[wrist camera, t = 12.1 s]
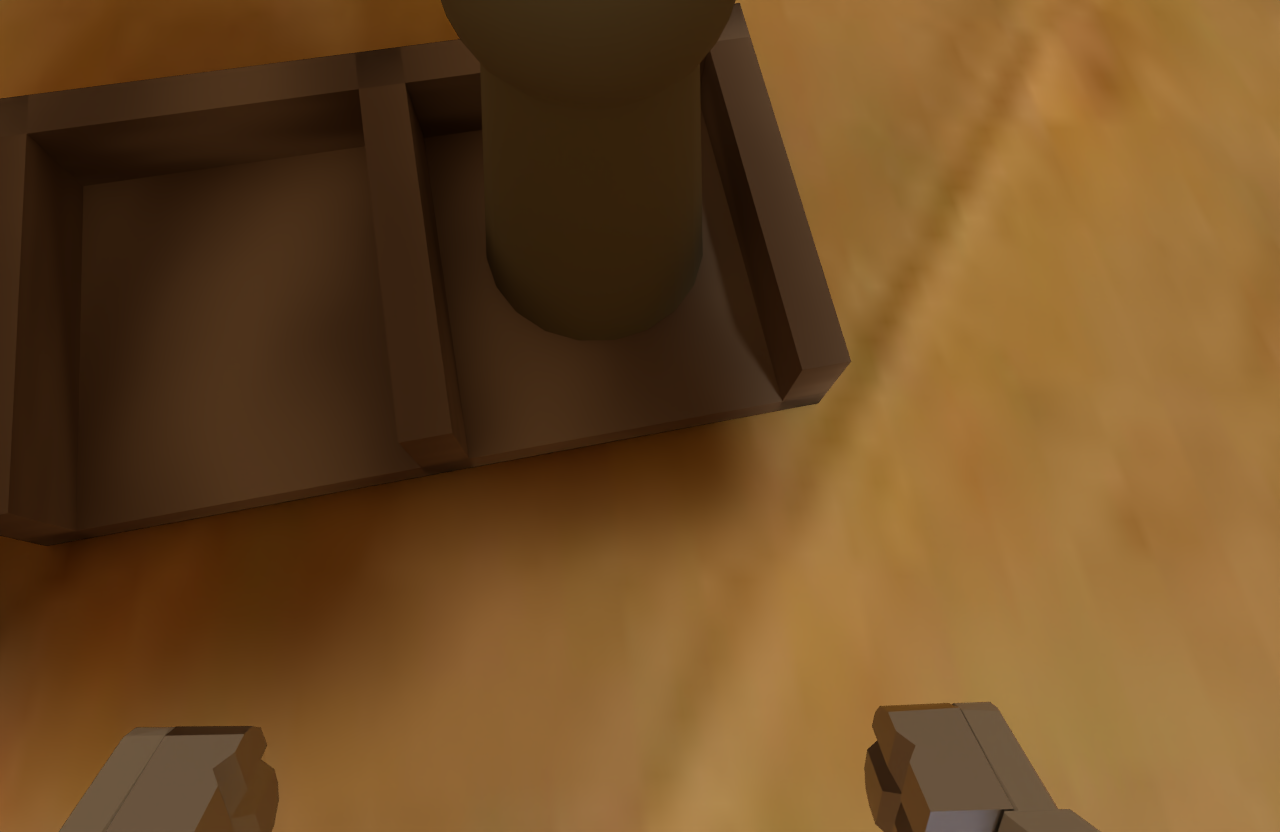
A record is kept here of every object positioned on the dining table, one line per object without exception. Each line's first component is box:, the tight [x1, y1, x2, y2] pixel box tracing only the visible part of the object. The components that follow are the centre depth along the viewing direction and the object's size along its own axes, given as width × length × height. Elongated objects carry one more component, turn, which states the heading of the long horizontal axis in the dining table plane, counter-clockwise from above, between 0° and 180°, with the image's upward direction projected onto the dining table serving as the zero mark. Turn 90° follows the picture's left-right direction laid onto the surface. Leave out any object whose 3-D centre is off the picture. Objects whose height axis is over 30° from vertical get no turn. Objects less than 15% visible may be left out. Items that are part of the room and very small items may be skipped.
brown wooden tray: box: [0, 3, 851, 546], centre depth 20 cm, size 20×11×3 cm, turn 102°
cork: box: [441, 0, 735, 341], centre depth 16 cm, size 6×6×11 cm
